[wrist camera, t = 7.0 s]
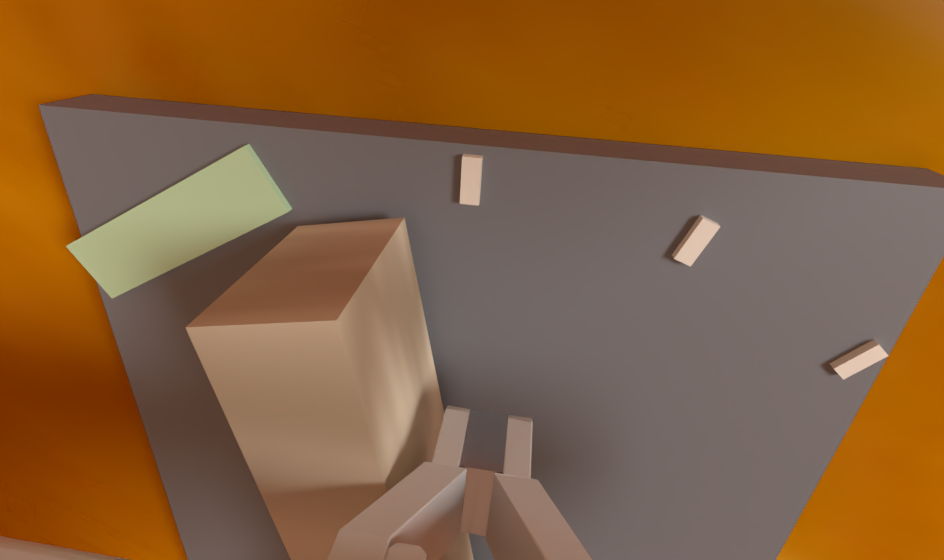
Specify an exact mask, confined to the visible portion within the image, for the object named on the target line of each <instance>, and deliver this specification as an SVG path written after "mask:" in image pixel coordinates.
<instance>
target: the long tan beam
mask: <svg viewBox="0 0 944 560" xmlns="http://www.w3.org/2000/svg"><path fill="white" fill-rule="evenodd" d="M185 328H186V330H187V332H188V335H189V337H190V339H191V341H192V343H193V346H194V348H195V350H196V352H197V354H198V357H199V359H200V361H201V363H202V365H203V368H204V370H205V372H206V374H207V376H208V379H209V381H210V383H211V385H212V387H213V390H214V392H215V394H216V396H217V398H218V400H219V403H220V405H221V407H222V409H223V411H224V414H225V416H226V418H227V420H228V422H229V425H230V427H231V429H232V431H233V433H234V436H235V438H236V440H237V442H238V444H239V447H240V449H241V451H242V453H243V455H244V458H245V460H246V462H247V464H248V466H249V469H250V471H251V473H252V475H253V477H254V480H255V482H256V484H257V486H258V488H259V491H260V493H261V495H262V497H263V499H264V502H265V504H266V506H267V508H268V510H269V513H270V515H271V517H272V519H273V521H274V524H275V526H276V528H277V530H278V532H279V535H280V537H281V539H282V541H283V543H284V546H285V548H286V550H287V552H288V554H289V557H290V559H291V560H327V559H328V557H329V554H330V552H331V549H332V547H333V545H334V542H335V540H336V537H337V535H338V532H339V530H340V529H341V528H342V527H344V526H345V525H346V524H347V523H349V522H350V521H351V520H352V519H354V518H355V517H356V516H357V515H359V514H360V513H361V512H362V511H364V510H365V509H366V508H367V507H369V506H370V505H371V504H372V503H374V502H375V501H376V500H378V499H379V498H380V497H381V496H383V495H384V494H385V493H386V492H388V491H389V490H390V489H391V488H393V487H394V486H395V485H396V484H398V483H399V482H400V481H401V480H403V479H404V478H405V477H406V476H408V475H409V474H410V473H411V472H413V471H414V470H415V469H416V468H418V467H419V466H420V465H421V464H423V463H424V462H431V463H432V460H433V456H434V452H435V448H436V444H437V440H438V436H439V433H440V429H441V425H442V421H443V417H444V410H443V405H442V400H441V395H440V390H439V385H438V380H437V376H436V371H435V366H434V361H433V356H432V351H431V346H430V341H429V336H428V331H427V326H426V321H425V316H424V311H423V306H422V301H421V296H420V291H419V287H418V282H417V277H416V272H415V267H414V262H413V257H412V252H411V247H410V242H409V237H408V232H407V227H406V222H405V217H404V218H391V219H379V220H367V221H354V222H342V223H330V224H317V225H305V226H298V227H296V228H295V229H294V230H293V231H292V232H291V233H290V234H289V235H288V236H286V237H285V238H284V239H283V240H282V241H281V242H280V243H279V244H278V245H276V246H275V247H274V248H273V249H272V250H271V251H270V252H269V253H267V254H266V255H265V256H264V257H263V258H262V259H261V260H260V261H259V262H257V263H256V264H255V265H254V266H253V267H252V268H251V269H250V270H249V271H247V272H246V273H245V274H244V275H243V276H242V277H241V278H240V279H239V280H237V281H236V282H235V283H234V284H233V285H232V286H231V287H230V288H229V289H227V290H226V291H225V292H224V293H223V294H222V295H221V296H220V297H219V298H217V299H216V300H215V301H214V302H213V303H212V304H211V305H210V306H209V307H207V308H206V309H205V310H204V311H203V312H202V313H201V314H200V315H199V316H197V317H196V318H195V319H194V320H193V321H192V322H191V323H190V324H189V325H187V326H186V327H185ZM439 560H474V558H473V554H472V549H471V544H470V539H469V534H468V533H464V532H460V535H459V536H458V538H457V539H456V540H455V541H454V542H453V543H452V545H451V546H450V547H449V548H448V549H447V550H446V552H445V553H444V554H443V555H442V556H441V557H440V559H439Z"/></svg>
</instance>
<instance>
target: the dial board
mask: <svg viewBox="0 0 944 560" xmlns="http://www.w3.org/2000/svg"><path fill="white" fill-rule="evenodd" d="M38 106H39V109H40V112H41V115H42V118H43V121H44V124H45V127H46V130H47V133H48V136H49V139H50V142H51V145H52V148H53V151H54V155H55V158H56V161H57V164H58V167H59V170H60V173H61V176H62V179H63V182H64V185H65V188H66V191H67V194H68V197H69V200H70V203H71V206H72V209H73V212H74V215H75V218H76V221H77V224H78V227H79V230H80V234H81V238H79V239H78V240H76V241H74V242H72V243H70V244H69V245H67V246H66V247H67V248H68V249H69V250H70V252H71V253H72V254H73V255H74V256H75V257H76V258H77V260H78V261H79V262H80V263H81V264H82V265H83V266H84V268H85V269H86V270H87V271H88V272H89V273H90V274H91V276H92V277H93V278H94V279H95V280H96V282H97V285H98V288H99V291H100V294H101V297H102V300H103V303H104V306H105V309H106V313H107V316H108V319H109V322H110V325H111V328H112V331H113V334H114V337H115V340H116V343H117V346H118V349H119V352H120V355H121V358H122V361H123V364H124V367H125V370H126V373H127V376H128V379H129V382H130V385H131V388H132V392H133V395H134V398H135V401H136V404H137V407H138V410H139V413H140V416H141V419H142V422H143V425H144V428H145V431H146V434H147V437H148V440H149V443H150V446H151V449H152V452H153V455H154V458H155V461H156V464H157V467H158V471H159V474H160V477H161V480H162V483H163V486H164V489H165V492H166V495H167V498H168V501H169V504H170V507H171V510H172V513H173V516H174V519H175V522H176V525H177V528H178V531H179V534H180V537H181V540H182V543H183V546H184V549H185V553H186V556H187V559H188V560H291V559H290V557H289V554H288V552H287V550H286V548H285V546H284V543H283V541H282V539H281V537H280V535H279V532H278V530H277V528H276V526H275V524H274V521H273V519H272V517H271V515H270V513H269V510H268V508H267V506H266V504H265V502H264V499H263V497H262V495H261V493H260V491H259V488H258V486H257V484H256V482H255V480H254V477H253V475H252V473H251V471H250V469H249V466H248V464H247V462H246V460H245V458H244V455H243V453H242V451H241V449H240V447H239V444H238V442H237V440H236V438H235V436H234V433H233V431H232V429H231V427H230V425H229V422H228V420H227V418H226V416H225V414H224V411H223V409H222V407H221V405H220V403H219V400H218V398H217V396H216V394H215V392H214V390H213V387H212V385H211V383H210V381H209V379H208V376H207V374H206V372H205V370H204V368H203V365H202V363H201V361H200V359H199V357H198V354H197V352H196V350H195V348H194V346H193V343H192V341H191V339H190V337H189V335H188V332H187V330H186V328H185V327H186V326H187V325H189V324H190V323H191V322H192V321H193V320H194V319H195V318H196V317H197V316H199V315H200V314H201V313H202V312H203V311H204V310H205V309H206V308H207V307H209V306H210V305H211V304H212V303H213V302H214V301H215V300H216V299H217V298H219V297H220V296H221V295H222V294H223V293H224V292H225V291H226V290H227V289H229V288H230V287H231V286H232V285H233V284H234V283H235V282H236V281H237V280H239V279H240V278H241V277H242V276H243V275H244V274H245V273H246V272H247V271H249V270H250V269H251V268H252V267H253V266H254V265H255V264H256V263H257V262H259V261H260V260H261V259H262V258H263V257H264V256H265V255H266V254H267V253H269V252H270V251H271V250H272V249H273V248H274V247H275V246H276V245H278V244H279V243H280V242H281V241H282V240H283V239H284V238H285V237H286V236H288V235H289V234H290V233H291V232H292V231H293V230H294V229H295V228H296V227H298V226H305V225H317V224H330V223H342V222H354V221H367V220H379V219H391V218H404V217H405V222H406V227H407V232H408V237H409V242H410V247H411V252H412V257H413V262H414V267H415V272H416V277H417V282H418V287H419V291H420V296H421V301H422V306H423V311H424V316H425V321H426V326H427V331H428V336H429V341H430V346H431V351H432V356H433V361H434V366H435V371H436V376H437V380H438V385H439V390H440V395H441V400H442V405H443V410H444V413H445V410H446V408H447V406H448V405H449V406H454V407H460V408H466V409H470V410H471V409H474V410H480V411H486V412H491V413H497V414H503V415H513V416H520V417H528V418H531V419H532V421H533V425H532V454H531V479H536V480H538V481H539V482H540V484H541V485H542V487H543V488H544V490H545V491H546V493H547V494H548V495H549V497H550V498H551V500H552V501H553V503H554V504H555V506H556V507H557V509H558V510H559V512H560V513H561V515H562V516H563V517H564V519H565V520H566V522H567V523H568V525H569V526H570V528H571V529H572V531H573V532H574V534H575V535H576V537H577V538H578V539H579V541H580V542H581V544H582V545H583V547H584V548H585V550H586V551H587V553H588V554H589V556H590V557H591V558H592V560H776V558H777V556H778V555H779V553H780V551H781V549H782V547H783V546H784V544H785V542H786V540H787V538H788V537H789V535H790V533H791V531H792V529H793V527H794V526H795V524H796V522H797V520H798V518H799V517H800V515H801V513H802V511H803V509H804V508H805V506H806V504H807V502H808V500H809V499H810V497H811V495H812V493H813V491H814V489H815V488H816V486H817V484H818V482H819V480H820V479H821V477H822V475H823V473H824V471H825V470H826V468H827V466H828V464H829V462H830V461H831V459H832V457H833V455H834V453H835V452H836V450H837V448H838V446H839V444H840V442H841V441H842V439H843V437H844V435H845V433H846V432H847V430H848V428H849V426H850V424H851V423H852V421H853V419H854V417H855V415H856V414H857V412H858V410H859V408H860V406H861V404H862V403H863V401H864V399H865V397H866V395H867V394H868V392H869V390H870V388H871V386H872V385H873V383H874V381H875V379H876V377H877V376H878V374H879V372H880V370H881V368H882V367H883V365H884V363H885V361H886V359H887V357H888V356H889V354H890V352H891V350H892V348H893V347H894V345H895V343H896V341H897V339H898V338H899V336H900V334H901V332H902V330H903V329H904V327H905V325H906V323H907V321H908V319H909V318H910V316H911V314H912V312H913V310H914V309H915V307H916V305H917V303H918V301H919V300H920V298H921V296H922V294H923V292H924V291H925V289H926V287H927V285H928V283H929V281H930V280H931V278H932V276H933V274H934V272H935V271H936V269H937V267H938V265H939V263H940V262H941V260H942V258H943V256H944V176H943V175H941V174H938V173H936V172H934V171H931V170H929V169H925V168H914V167H902V166H891V165H880V164H869V163H857V162H846V161H835V160H824V159H813V158H801V157H790V156H779V155H768V154H756V153H745V152H734V151H723V150H712V149H700V148H689V147H678V146H667V145H655V144H644V143H633V142H622V141H611V140H599V139H588V138H577V137H566V136H554V135H543V134H532V133H521V132H510V131H498V130H487V129H476V128H465V127H453V126H442V125H431V124H420V123H409V122H397V121H386V120H375V119H364V118H352V117H341V116H330V115H319V114H308V113H296V112H285V111H274V110H263V109H251V108H240V107H229V106H218V105H207V104H195V103H184V102H173V101H162V100H150V99H139V98H128V97H117V96H106V95H94V94H90V95H85V96H80V97H75V98H70V99H65V100H60V101H55V102H50V103H45V104H40V105H38ZM468 534H469V539H470V544H471V549H472V554H473V558H474V560H494V557H493V555H492V553H491V550H490V548H489V546H488V543H487V541H486V539H485V537H486V536H481V535H476V534H471V533H468Z"/></svg>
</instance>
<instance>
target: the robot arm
mask: <svg viewBox="0 0 944 560" xmlns="http://www.w3.org/2000/svg"><path fill="white" fill-rule="evenodd" d="M532 425H533V421H532V419H531V418H528V417H520V416H513V415H503V414H497V413H491V412H486V411H480V410H474V409H471V410H470V409H466V408H460V407H454V406H449V405H448V406H447V408H446V410H445V413H444V417H443V421H442V425H441V429H440V433H439V436H438V440H437V444H436V448H435V452H434V456H433V460H432V463H431V462H424V463H423V464H421V465H420V466H419V467H418V468H416V469H415V470H414V471H413V472H411V473H410V474H409V475H408V476H406V477H405V478H404V479H403V480H401V481H400V482H399V483H398V484H396V485H395V486H394V487H393V488H391V489H390V490H389V491H388V492H386V493H385V494H384V495H383V496H381V497H380V498H379V499H378V500H376V501H375V502H374V503H372V504H371V505H370V506H369V507H367V508H366V509H365V510H364V511H362V512H361V513H360V514H359V515H357V516H356V517H355V518H354V519H352V520H351V521H350V522H349V523H347V524H346V525H345V526H344V527H342V528H341V529H340V530H339V532H338V535H337V537H336V540H335V542H334V545H333V547H332V549H331V552H330V554H329V557H328V559H327V560H439V559H440V557H441V556H442V555H443V554H444V553H445V552H446V550H447V549H448V548H449V547H450V546H451V545H452V543H453V542H454V541H455V540H456V539H457V538H458V536H459V535H460V532H464V533H471V534H476V535H481V536H486V537H485V539H486V541H487V543H488V546H489V548H490V550H491V553H492V555H493V557H494V560H592V558H591V557H590V556H589V554H588V553H587V551H586V550H585V548H584V547H583V545H582V544H581V542H580V541H579V539H578V538H577V537H576V535H575V534H574V532H573V531H572V529H571V528H570V526H569V525H568V523H567V522H566V520H565V519H564V517H563V516H562V515H561V513H560V512H559V510H558V509H557V507H556V506H555V504H554V503H553V501H552V500H551V498H550V497H549V495H548V494H547V493H546V491H545V490H544V488H543V487H542V485H541V484H540V482H539V481H538V480H536V479H531V454H532ZM0 560H129V559H124V558H118V557H113V556H107V555H102V554H96V553H91V552H86V551H80V550H75V549H69V548H64V547H58V546H53V545H47V544H42V543H37V542H31V541H26V540H20V539H15V538H9V537H4V536H0Z"/></svg>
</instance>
